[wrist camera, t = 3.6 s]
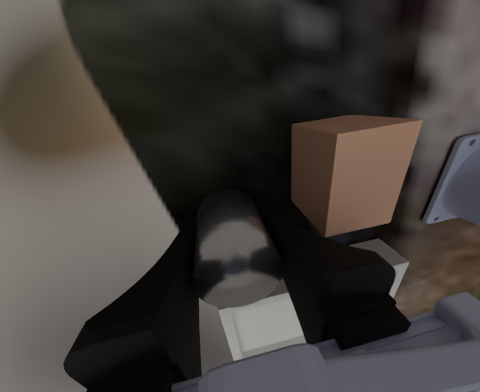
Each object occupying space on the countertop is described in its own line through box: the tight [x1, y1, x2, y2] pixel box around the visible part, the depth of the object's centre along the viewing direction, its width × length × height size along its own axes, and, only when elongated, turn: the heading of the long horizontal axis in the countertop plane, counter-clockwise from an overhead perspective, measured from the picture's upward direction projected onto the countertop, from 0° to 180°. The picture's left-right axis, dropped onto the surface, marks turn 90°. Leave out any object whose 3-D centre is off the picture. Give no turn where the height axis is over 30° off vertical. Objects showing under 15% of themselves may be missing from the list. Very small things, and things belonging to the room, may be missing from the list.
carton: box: [291, 115, 423, 237], centre depth 11 cm, size 4×6×4 cm
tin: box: [193, 189, 284, 308], centre depth 11 cm, size 4×4×6 cm
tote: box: [218, 238, 409, 361], centre depth 19 cm, size 16×14×3 cm
